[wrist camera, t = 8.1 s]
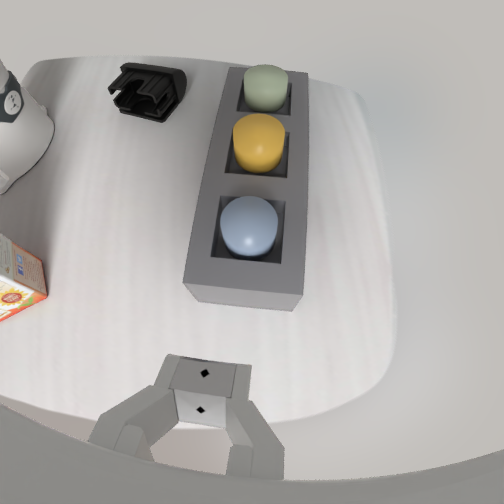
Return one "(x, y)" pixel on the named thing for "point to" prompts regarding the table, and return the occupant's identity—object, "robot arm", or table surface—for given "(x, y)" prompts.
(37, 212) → the table surface
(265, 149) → the amber button
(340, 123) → the table surface
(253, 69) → the sage button
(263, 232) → the slate button
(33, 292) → the cracker box
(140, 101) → the end cap
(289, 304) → the button console
